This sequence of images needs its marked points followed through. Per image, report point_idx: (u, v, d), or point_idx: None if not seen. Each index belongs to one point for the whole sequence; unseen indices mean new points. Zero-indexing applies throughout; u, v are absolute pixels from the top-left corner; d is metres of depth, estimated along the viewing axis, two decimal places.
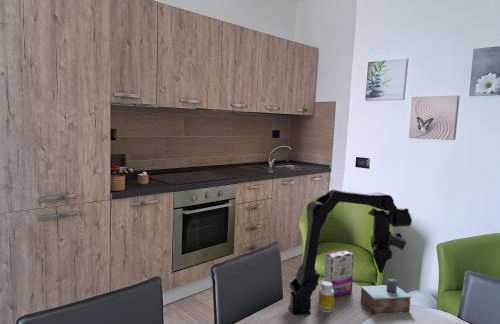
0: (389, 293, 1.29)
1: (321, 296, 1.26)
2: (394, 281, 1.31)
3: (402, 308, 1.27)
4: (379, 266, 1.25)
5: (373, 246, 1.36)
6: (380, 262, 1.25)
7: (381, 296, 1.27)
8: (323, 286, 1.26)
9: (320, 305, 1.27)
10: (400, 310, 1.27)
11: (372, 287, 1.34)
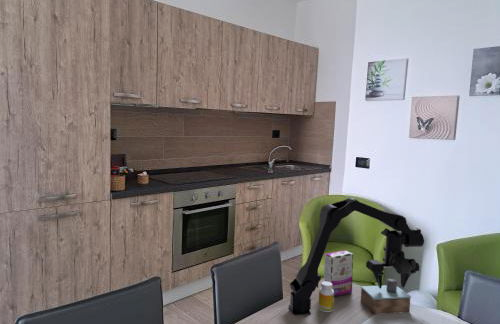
0: (389, 293, 1.29)
1: (321, 296, 1.26)
2: (394, 281, 1.31)
3: (402, 308, 1.27)
4: (377, 280, 1.31)
5: None
6: (377, 276, 1.31)
7: (381, 296, 1.27)
8: (323, 286, 1.26)
9: (320, 305, 1.27)
10: (400, 310, 1.27)
11: (372, 287, 1.34)
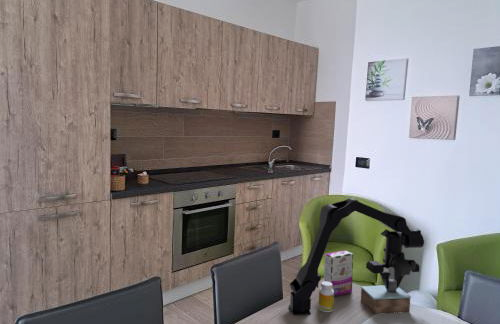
0: (389, 293, 1.29)
1: (321, 296, 1.26)
2: (394, 281, 1.31)
3: (402, 308, 1.27)
4: (383, 281, 1.32)
5: (395, 269, 1.34)
6: (383, 277, 1.31)
7: (381, 296, 1.27)
8: (323, 286, 1.26)
9: (320, 305, 1.27)
10: (400, 310, 1.27)
11: (372, 287, 1.34)
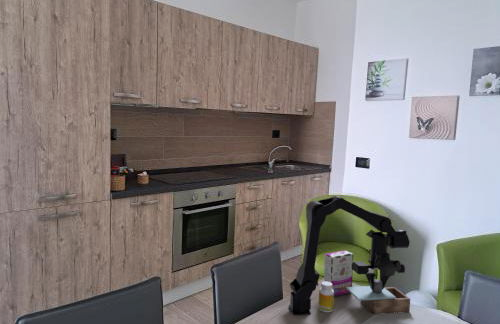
0: (374, 294, 1.28)
1: (321, 296, 1.26)
2: (379, 282, 1.30)
3: (402, 308, 1.27)
4: (369, 282, 1.31)
5: None
6: (369, 278, 1.30)
7: (366, 297, 1.26)
8: (323, 286, 1.26)
9: (320, 305, 1.27)
10: (400, 310, 1.27)
11: (358, 288, 1.33)
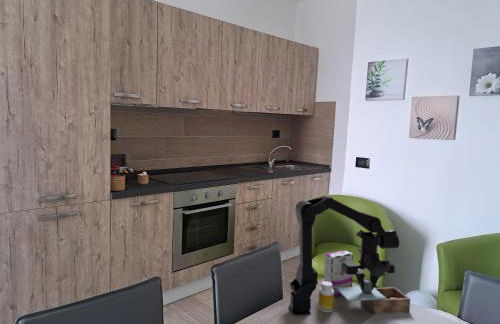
0: (364, 294, 1.28)
1: (321, 296, 1.26)
2: (369, 282, 1.29)
3: (402, 308, 1.27)
4: (359, 282, 1.30)
5: None
6: (359, 278, 1.30)
7: (355, 297, 1.25)
8: (323, 286, 1.26)
9: (320, 305, 1.27)
10: (400, 310, 1.27)
11: (348, 289, 1.32)
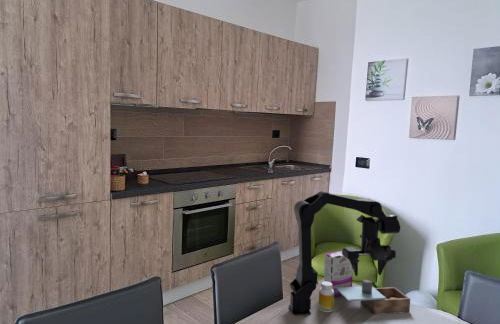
0: (364, 294, 1.28)
1: (321, 296, 1.26)
2: (369, 282, 1.29)
3: (402, 308, 1.27)
4: (353, 268, 1.29)
5: None
6: (353, 264, 1.29)
7: (355, 297, 1.25)
8: (323, 286, 1.26)
9: (320, 305, 1.27)
10: (400, 310, 1.27)
11: (348, 289, 1.32)
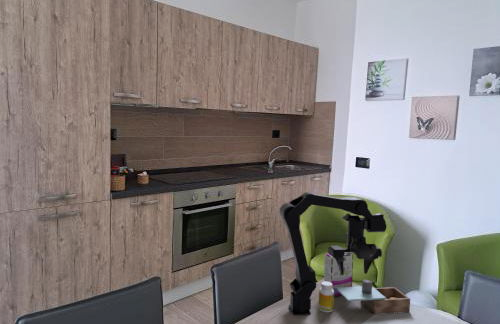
0: (364, 294, 1.28)
1: (321, 296, 1.26)
2: (369, 282, 1.29)
3: (402, 308, 1.27)
4: (339, 267, 1.28)
5: None
6: (338, 263, 1.28)
7: (355, 297, 1.25)
8: (323, 286, 1.26)
9: (320, 305, 1.27)
10: (400, 310, 1.27)
11: (348, 289, 1.32)
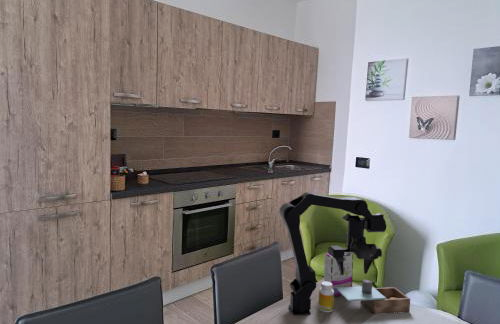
0: (364, 294, 1.28)
1: (321, 296, 1.26)
2: (369, 282, 1.29)
3: (402, 308, 1.27)
4: (339, 267, 1.28)
5: None
6: (338, 263, 1.28)
7: (355, 297, 1.25)
8: (323, 286, 1.26)
9: (320, 305, 1.27)
10: (400, 310, 1.27)
11: (348, 289, 1.32)
